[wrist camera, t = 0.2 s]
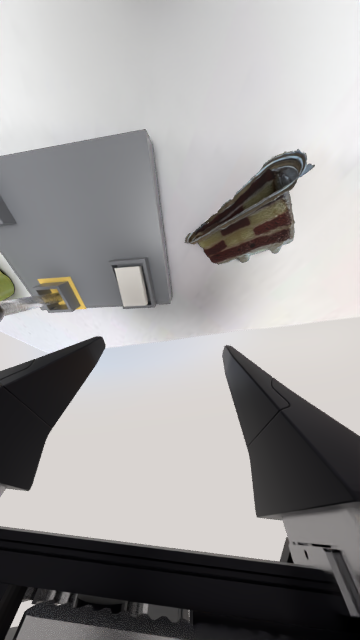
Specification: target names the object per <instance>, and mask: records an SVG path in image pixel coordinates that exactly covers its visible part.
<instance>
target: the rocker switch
mask: <svg viewBox="0 0 360 640" xmlns="http://www.w3.org/2000/svg"><path fill="white" fill-rule="evenodd" d="M114 269H115V273H116V277H117V281H118V285H119V289H120V294H121V298H122V302H123V306H124V307H126V306H146V305H147V304H148V299H147V294H146V288H145V282H144V276H143V270H142V266H135V267H123V268H114Z"/></svg>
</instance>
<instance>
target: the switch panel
mask: <svg viewBox="0 0 360 640" xmlns="http://www.w3.org/2000/svg"><path fill="white" fill-rule="evenodd" d="M0 252H1V253H2V255H3V256H4V258H5V259H6V260H7V262H8V263H9V265H10V266H11V268H12V269H13V270H14V272H15V273H16V275H17V276H18V277H19V279H20V280H21V282H22V283H23V284H24V286H25V287H26V289H27V290H28V291H29V293H30V294H31V296H38V295H44V294H51V293H59V294H60V295H61V297H62V299H63V301H61V302H58V303H54V304H50V305H46V306H42V307H40V308H41V310H47V311H48V313H55V312H73V311H74V310H76V309H86V308H96V307H116V306H123V302H122V298H121V294H120V289H119V285H118V281H117V277H116V273H115V269H114V268H123V267H135V266H142V270H143V276H144V282H145V288H146V294H147V299H148V304H147V305H146V306H126V307H124V306H123V309H130V308H150V307H155V306H156V304H170V303H171V300H172V291H171V284H170V276H169V268H168V260H167V253H166V245H165V237H164V229H163V222H162V214H161V206H160V199H159V191H158V183H157V175H156V168H155V160H154V152H153V144H152V141H151V139H150V137H149V135H148V133H147V131H146V129H143V130H138V131H133V132H127V133H122V134H116V135H111V136H106V137H100V138H95V139H90V140H84V141H79V142H73V143H68V144H63V145H57V146H52V147H47V148H41V149H36V150H30V151H25V152H20V153H14V154H9V155H4V156H0Z"/></svg>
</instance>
